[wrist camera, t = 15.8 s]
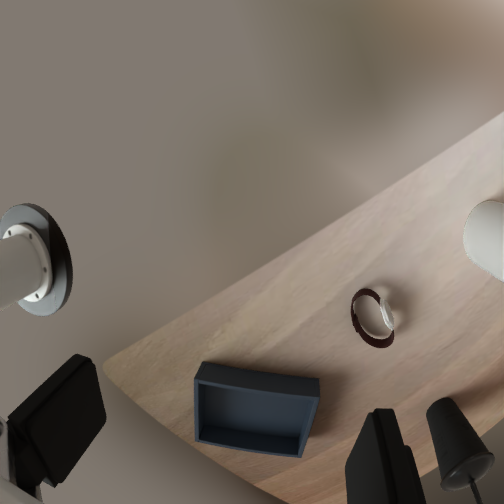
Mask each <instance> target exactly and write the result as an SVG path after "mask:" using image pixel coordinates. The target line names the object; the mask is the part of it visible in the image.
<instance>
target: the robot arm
mask: <svg viewBox="0 0 504 504" xmlns="http://www.w3.org/2000/svg"><path fill="white" fill-rule="evenodd" d="M52 277H53V273H52V264H51V259H50V255H49V252H48V250H47V247H46V245H45V243H44V241H43V240H42V238H41V237H40V235H39V234H38V233H37V232H36V231H35V230H34V229H33V228H32V227H30V226H29V225H26V224H16V225H13V226H11V227H9V228H8V230H7V231H6V232H5V234H4V236H3V239H2V240H0V311H2V310H4V309H5V308H7V307H9V306H11V305H12V304H14V303H16V302H18V301H19V300H21V299H25V300H27V301H30V302H37V301H39V300H41V299H43V298H44V297H46V295H47V294H48V293H49V291H50V289H51V285H52ZM8 419H9V420H8V421H7V422H5V420H4V419H3V418H2V417H0V504H44V503H43V502H42V496H41V490H40V483H41V482H42V481H43V482H45V483H47V484H49V485H50V486H52V487H54V488H55V487H56V486H57V484H58V483H62V482H63V481H64V480H65V479H66V477H67V476H68V475H69V473H70V472H71V470H72V469H73V468H74V466H75V465H76V463H77V462H78V460H79V459H80V458H81V456H82V455H83V454H84V452H85V451H86V449H87V448H88V447H89V445H90V444H91V442H92V441H93V439H94V438H95V437H96V435H97V434H98V433H99V431H100V430H101V429H102V427H103V426H104V424H105V422H106V412H105V408H104V404H103V400H102V395H101V392H100V387H99V382H98V377H97V372H96V367H95V365H94V364H93V363H92V360H91V359H90V358H88V357H85V356H82V355H79V354H75V355H73V356H72V357H71V358H70V359H69V360H68V361H67V362H66V363H64V364H63V365H62V366H61V367H60V368H59V369H58V370H57V371H56V372H54V373H53V374H52V375H51V376H50V377H49V378H48V379H47V380H46V381H45V382H44V383H43V384H42V385H40V386H39V387H38V388H37V389H36V390H35V391H34V392H33V393H32V394H31V395H30V396H29V397H28V398H27V399H26V400H25V401H24V402H22V404H20V405H19V406H18V407H17V408H16V409H15V410H14V411H13V412H12V413H11V414H10V415H9V416H8ZM345 476H346V489H347V504H426V500H425V496H424V493H423V489H422V485H421V482H420V478H419V474H418V470H417V467H416V463H415V460H414V457H413V453H412V450H411V448H410V447H409V446H408V445H404V443H403V439H402V436H401V432H400V429H399V426H398V423H397V419H396V416H395V413H394V410H393V409H381V408H377V409H375V410H374V411H373V413H368V415H367V418H366V420H365V422H364V425H363V427H362V429H361V431H360V434H359V436H358V438H357V440H356V442H355V445H354V447H353V449H352V451H351V453H350V455H349V457H348V459H347V462H346V465H345Z"/></svg>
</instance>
